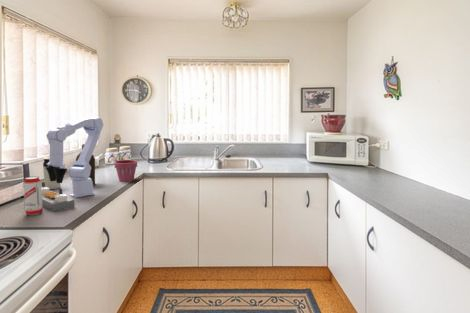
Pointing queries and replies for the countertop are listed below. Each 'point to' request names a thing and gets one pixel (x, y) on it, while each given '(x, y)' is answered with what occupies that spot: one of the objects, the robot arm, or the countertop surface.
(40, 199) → the beer can
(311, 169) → the countertop surface
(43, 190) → the left plug
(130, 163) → the plant pot
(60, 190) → the right plug
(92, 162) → the olive oil
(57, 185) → the travel mug
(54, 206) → the power strip
